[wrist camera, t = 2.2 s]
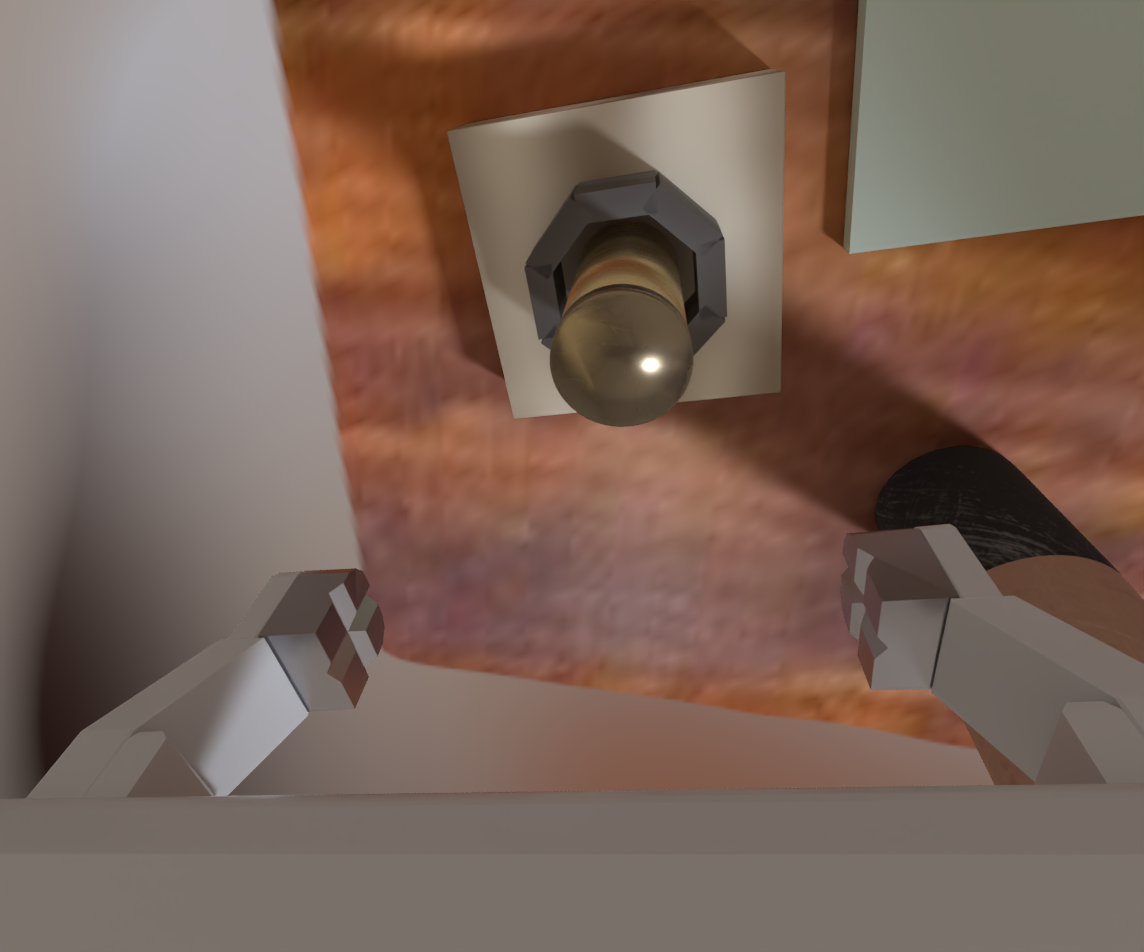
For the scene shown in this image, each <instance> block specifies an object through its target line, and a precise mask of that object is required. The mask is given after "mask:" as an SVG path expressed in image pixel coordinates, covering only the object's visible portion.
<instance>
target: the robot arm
mask: <svg viewBox="0 0 1144 952" xmlns="http://www.w3.org/2000/svg"><path fill="white" fill-rule="evenodd" d="M843 555H844V558H845V560H846V563H847V565H848V568H847V569H846V570H845V571H844V572H843V573H842V574H841V586H840V594H841V604H842V610H843V615H844V619H845V622H846V625H847V628H848V631H849V633H850V634H851V635H853V636H854V637H855V638H857V639H858V640H859V646H858V658H859V660H860V663H861V666H862V668H863V671H864V674H865V676H866V679H867V681H868V684H869V687H870V689H871V690H932V691H931V692H932V693H933V694H934V695H935V696H936V697H937V698H939V699H940V700H941V701H942V702H943V703H944V704H946V705H947V706H948V707H949V708H950V709H951V710H952V711H954V712H955V713H956V714H957V715H958V716H959V717H961V718H962V719H963V720H964V721H965V722H966V723H967V724H969V725H970V726H971V727H972V728H973V729H974V730H976V731H977V732H978V733H979V734H980V735H981V736H982V737H984V738H985V739H986V740H987V741H988V742H989V743H991V744H992V745H993V746H994V747H995V748H996V749H997V750H999V751H1000V752H1001V753H1002V754H1003V755H1004V756H1005V757H1007V758H1008V759H1009V760H1010V761H1011V762H1012V763H1014V764H1015V765H1016V766H1017V767H1018V768H1019V769H1020V770H1022V771H1023V772H1024V773H1025V774H1026V775H1027V776H1029V777H1030V778H1031V779H1032V780H1033V781H1034V782H1035V783H1034V785H977V786H904V787H902V786H901V787H829V788H760V789H686V790H618V791H616V790H615V791H550V792H549V791H547V792H546V791H545V792H472V793H401V794H333V795H332V794H328V795H264V796H263V795H257V796H227V795H228V794H229V793H230V792H231V791H232V790H234V788H235V787H237V786H238V785H239V783H241V781H242V780H243V779H245V777H247V775H249V774H250V773H251V772H252V770H254V768H255V767H256V766H257V765H259V764H260V763H261V761H263V760H264V759H265V758H266V757H267V756H268V755H269V753H271V752H272V751H273V750H274V749H275V748H276V747H277V746H278V745H279V744H280V743H281V742H282V741H283V740H284V739H285V738H286V737H287V736H288V735H289V734H290V733H291V731H293V730H294V729H295V727H297V726H298V725H299V724H300V723H301V722H302V721H303V719H305V718H306V717H307V716H308V712H313V711H328V710H342V709H355V707H356V705H357V703H358V700H359V698H360V695H361V693H362V691H363V689H364V686H365V684H366V682H367V680H368V674H367V672H366V669H365V666H367V665H368V664H369V663H370V662H371V661H373V659H375V658H376V657H377V656H378V654H379V651H380V649H381V646H382V644H383V636H384V621H383V616H382V612H381V610H380V608H379V605H378V604H377V603H376V602H375V601H373V600H372V599H370V598H369V597H368V596H366V593H367V591H368V589H369V586H370V585H369V583H368V581H367V579H366V577H365V575H364V572H363V571H361V570H358V569H356V568H355V569H334V570H313V571H304V572H283V573H278V574H276V575H274V576H272V577H271V579H270V580H269V582H268V583H267V584H266V586H265V587H264V589H263V590H262V591H261V593H260V594H259V595H258V597H257V598H256V600H255V601H254V603H253V604H252V605H251V607H250V608H249V610H248V611H247V613H246V614H245V615H244V617H243V618H242V620H241V621H240V622H239V624H238V625H237V627H236V628H235V630H234V631H233V632H232V634H231V635H230V637H229V638H228V639H227V640H219V641H217V642H216V643H214V644H213V645H211V646H209V647H208V648H207V649H205V650H203V651H202V652H200V653H199V654H198V655H196V656H194V657H193V658H191V659H190V660H188V661H187V662H185V663H184V664H182V665H181V666H179V667H178V668H176V669H175V670H173V671H172V672H170V673H169V674H167V675H166V676H164V677H163V678H161V679H160V680H158V681H157V682H155V683H154V684H152V685H150V686H149V687H147V688H146V689H144V690H143V691H141V692H140V693H138V694H137V695H135V696H134V697H132V698H131V699H129V700H128V701H127V702H125V703H123V704H122V705H120V706H119V707H118V708H116V709H114V710H113V711H111V712H110V713H108V714H107V715H105V716H104V717H102V718H101V719H99V720H98V721H96V722H95V723H93V724H92V725H90V726H89V727H87V728H85V729H84V730H82V731H81V732H80V733H79V735H78V736H77V737H76V738H75V739H74V741H73V742H72V743H71V744H70V746H69V747H68V748H67V749H66V750H65V752H64V753H63V754H62V755H61V757H60V758H59V759H58V760H57V761H56V763H55V764H54V765H53V766H52V767H51V769H50V770H49V771H48V772H47V774H46V775H45V776H44V777H43V778H42V780H41V781H40V782H39V783H38V784H37V786H36V787H35V788H34V789H33V791H32V792H31V793H30V794H29V795H28V797H27V798H26V799H0V952H1144V664H1143V663H1141V662H1139V661H1137V660H1135V659H1133V658H1131V657H1130V656H1128V655H1126V654H1124V653H1122V652H1120V651H1118V650H1116V649H1114V648H1112V647H1111V646H1109V645H1107V644H1105V643H1103V642H1101V641H1099V640H1097V639H1095V638H1094V637H1092V636H1090V635H1088V634H1086V633H1084V632H1082V631H1080V630H1078V629H1076V628H1075V627H1073V626H1071V625H1069V624H1067V623H1065V622H1063V621H1061V620H1059V619H1058V618H1056V617H1054V616H1052V615H1050V614H1048V613H1046V612H1044V611H1042V610H1041V609H1039V608H1037V607H1035V606H1033V605H1031V604H1029V603H1027V602H1025V601H1023V600H1022V599H1020V598H1018V597H1016V596H1003V595H1002V594H1001V592H1000V591H999V589H998V588H997V586H996V585H995V583H994V582H993V581H992V579H991V578H990V576H989V575H988V573H987V572H986V570H985V569H984V568H983V566H982V565H981V563H980V562H979V560H978V559H977V557H976V556H975V555H974V553H973V552H972V550H971V549H970V547H969V546H968V544H967V543H966V542H965V540H964V539H963V537H962V536H961V534H960V533H959V531H958V530H957V529H956V527H954V526H952V525H951V524H942V525H932V526H921V527H915V528H908V529H895V530H882V531H869V532H856V533H846V536H845V539H844V545H843Z"/></svg>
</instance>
